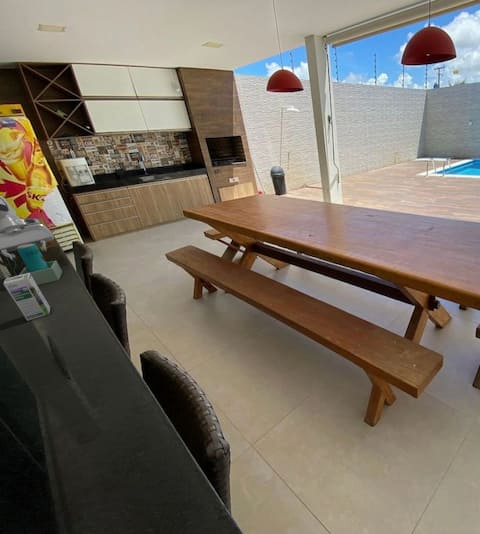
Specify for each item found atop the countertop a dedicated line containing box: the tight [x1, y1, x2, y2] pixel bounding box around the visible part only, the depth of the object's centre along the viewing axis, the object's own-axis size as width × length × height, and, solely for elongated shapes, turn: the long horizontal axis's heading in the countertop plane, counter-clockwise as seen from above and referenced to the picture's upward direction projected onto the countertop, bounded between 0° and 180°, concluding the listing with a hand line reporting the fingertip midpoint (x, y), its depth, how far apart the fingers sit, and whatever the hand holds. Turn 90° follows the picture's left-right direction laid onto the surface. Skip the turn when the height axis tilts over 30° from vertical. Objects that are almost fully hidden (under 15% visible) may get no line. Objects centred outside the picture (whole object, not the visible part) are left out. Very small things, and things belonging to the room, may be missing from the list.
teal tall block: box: [17, 243, 49, 272], centre depth 128 cm, size 6×6×15 cm
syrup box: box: [3, 273, 51, 322], centre depth 102 cm, size 6×6×14 cm
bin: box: [18, 260, 63, 286], centre depth 130 cm, size 10×10×6 cm
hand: (29, 254), depth 127 cm, fingers open, 8 cm apart
